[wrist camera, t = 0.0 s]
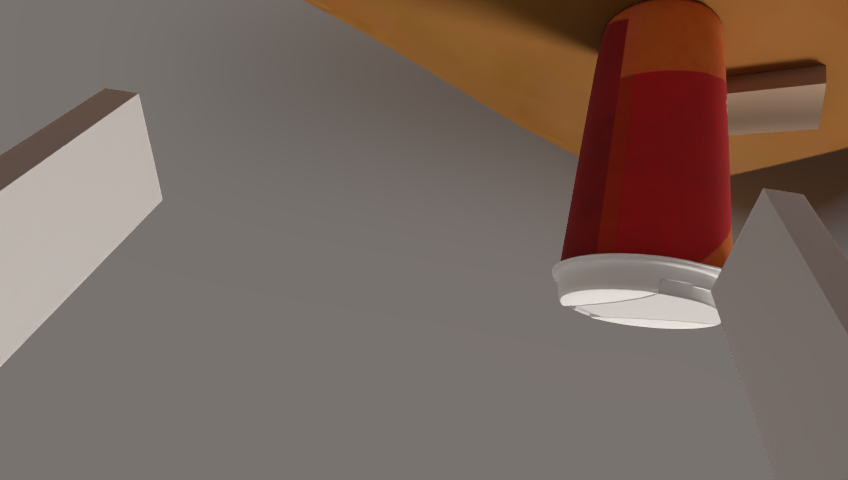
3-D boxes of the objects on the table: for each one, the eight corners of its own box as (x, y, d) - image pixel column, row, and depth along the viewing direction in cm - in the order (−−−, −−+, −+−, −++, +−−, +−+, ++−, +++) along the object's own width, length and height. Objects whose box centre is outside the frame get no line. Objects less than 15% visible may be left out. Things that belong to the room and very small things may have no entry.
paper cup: (630, 95, 34) (609, 330, 30) (550, 24, 30) (512, 291, 26) (778, 48, 28) (776, 333, 24) (706, -50, 24) (689, 282, 20)
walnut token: (723, 70, 31) (723, 94, 31) (825, 57, 29) (826, 83, 29) (727, 113, 35) (727, 135, 34) (818, 105, 33) (818, 128, 32)
